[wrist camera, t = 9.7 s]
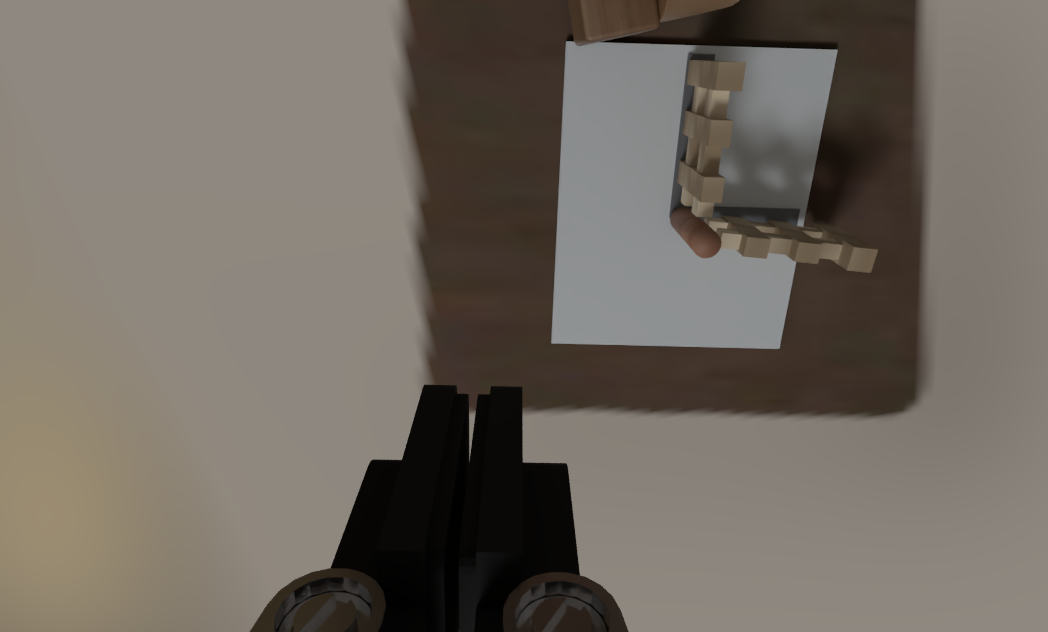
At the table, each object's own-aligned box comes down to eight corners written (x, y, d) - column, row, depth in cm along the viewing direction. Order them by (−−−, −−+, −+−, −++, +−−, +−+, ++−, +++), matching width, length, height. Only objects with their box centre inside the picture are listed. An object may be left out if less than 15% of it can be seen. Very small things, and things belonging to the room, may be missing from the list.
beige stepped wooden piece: (668, 229, 37) (690, 256, 32) (672, 205, 36) (695, 229, 32) (825, 245, 37) (870, 274, 32) (831, 221, 37) (878, 247, 32)
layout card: (566, 41, 34) (566, 41, 33) (835, 49, 34) (838, 49, 34) (551, 341, 40) (551, 343, 40) (777, 346, 40) (780, 349, 40)
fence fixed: (687, 59, 34) (718, 61, 29) (710, 60, 34) (746, 62, 29) (671, 196, 37) (697, 222, 31) (693, 197, 37) (722, 222, 31)
